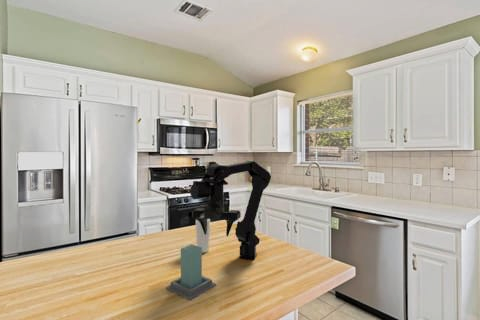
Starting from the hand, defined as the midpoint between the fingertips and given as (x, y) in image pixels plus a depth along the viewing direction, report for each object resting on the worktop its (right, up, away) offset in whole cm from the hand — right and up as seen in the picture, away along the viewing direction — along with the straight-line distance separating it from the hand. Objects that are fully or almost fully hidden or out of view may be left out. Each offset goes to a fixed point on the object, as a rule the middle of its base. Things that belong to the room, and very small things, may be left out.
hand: (216, 235), depth 108 cm
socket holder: (-7, -14, -15) cm, 22 cm away
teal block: (-7, -13, -15) cm, 21 cm away
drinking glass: (-8, -13, +18) cm, 23 cm away
